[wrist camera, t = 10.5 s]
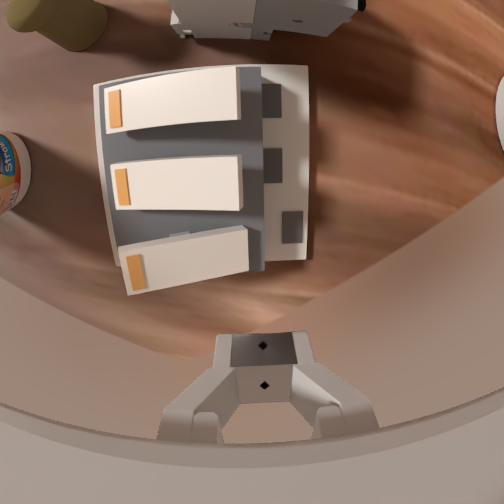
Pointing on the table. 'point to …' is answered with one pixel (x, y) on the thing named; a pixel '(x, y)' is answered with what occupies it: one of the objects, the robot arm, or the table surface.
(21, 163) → the fruit juice
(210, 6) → the circuit breaker
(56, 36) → the olive pepper mill
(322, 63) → the table surface
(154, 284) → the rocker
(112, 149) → the switch unit
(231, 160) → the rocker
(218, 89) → the rocker
